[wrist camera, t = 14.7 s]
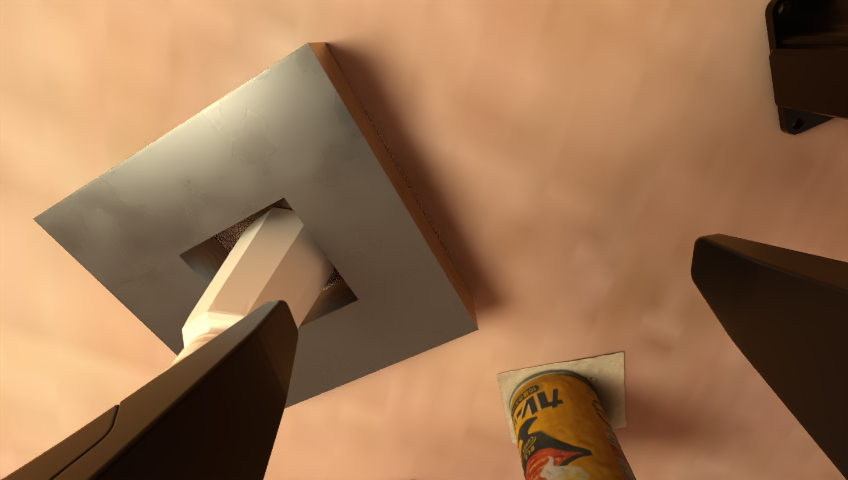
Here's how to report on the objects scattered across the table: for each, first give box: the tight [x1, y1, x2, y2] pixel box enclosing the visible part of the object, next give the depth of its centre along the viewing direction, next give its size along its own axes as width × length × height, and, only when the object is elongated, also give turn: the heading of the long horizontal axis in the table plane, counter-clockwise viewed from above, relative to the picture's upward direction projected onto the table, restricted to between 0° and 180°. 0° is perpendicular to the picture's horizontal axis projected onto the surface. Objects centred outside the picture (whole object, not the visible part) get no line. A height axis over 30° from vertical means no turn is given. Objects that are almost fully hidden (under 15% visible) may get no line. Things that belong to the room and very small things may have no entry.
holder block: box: [34, 42, 478, 409], centre depth 22 cm, size 16×16×3 cm
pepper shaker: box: [161, 207, 334, 374], centre depth 18 cm, size 5×5×11 cm
